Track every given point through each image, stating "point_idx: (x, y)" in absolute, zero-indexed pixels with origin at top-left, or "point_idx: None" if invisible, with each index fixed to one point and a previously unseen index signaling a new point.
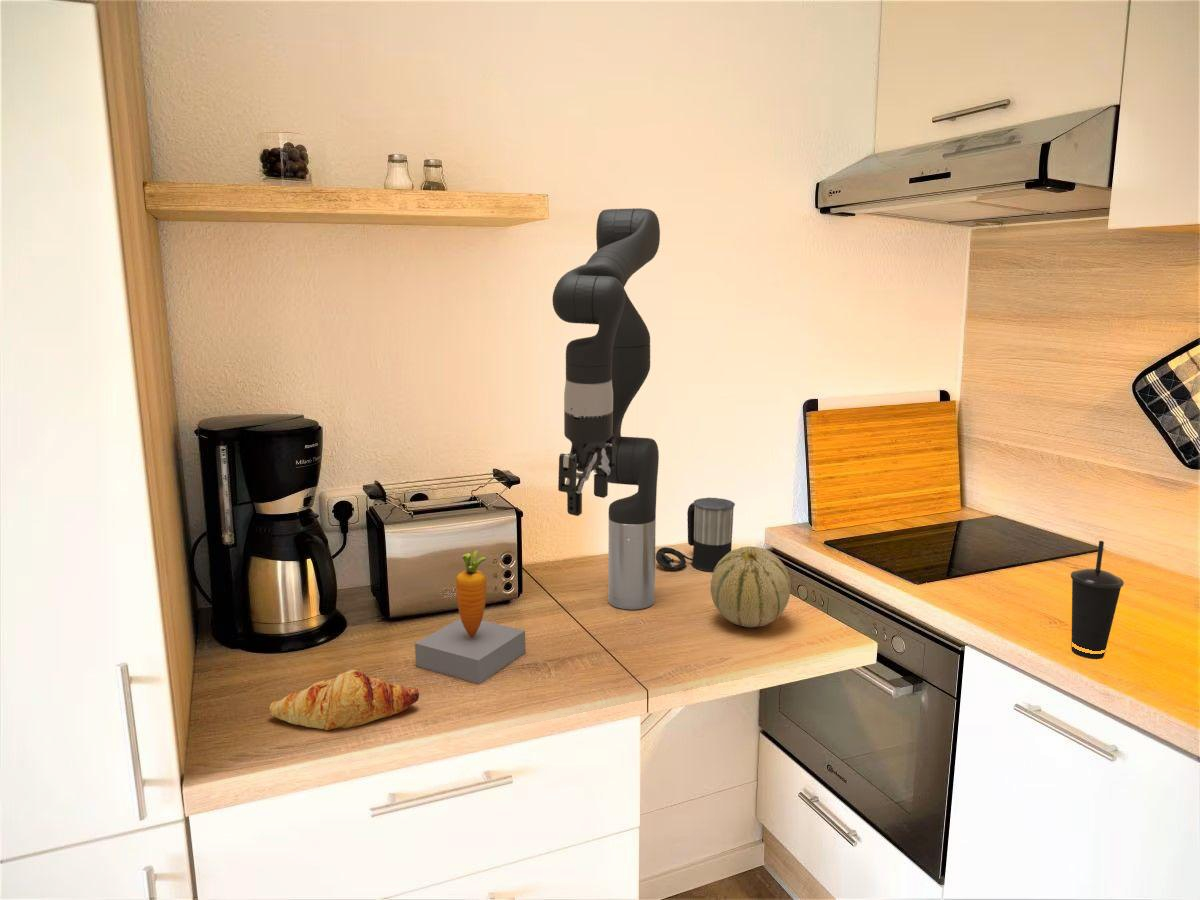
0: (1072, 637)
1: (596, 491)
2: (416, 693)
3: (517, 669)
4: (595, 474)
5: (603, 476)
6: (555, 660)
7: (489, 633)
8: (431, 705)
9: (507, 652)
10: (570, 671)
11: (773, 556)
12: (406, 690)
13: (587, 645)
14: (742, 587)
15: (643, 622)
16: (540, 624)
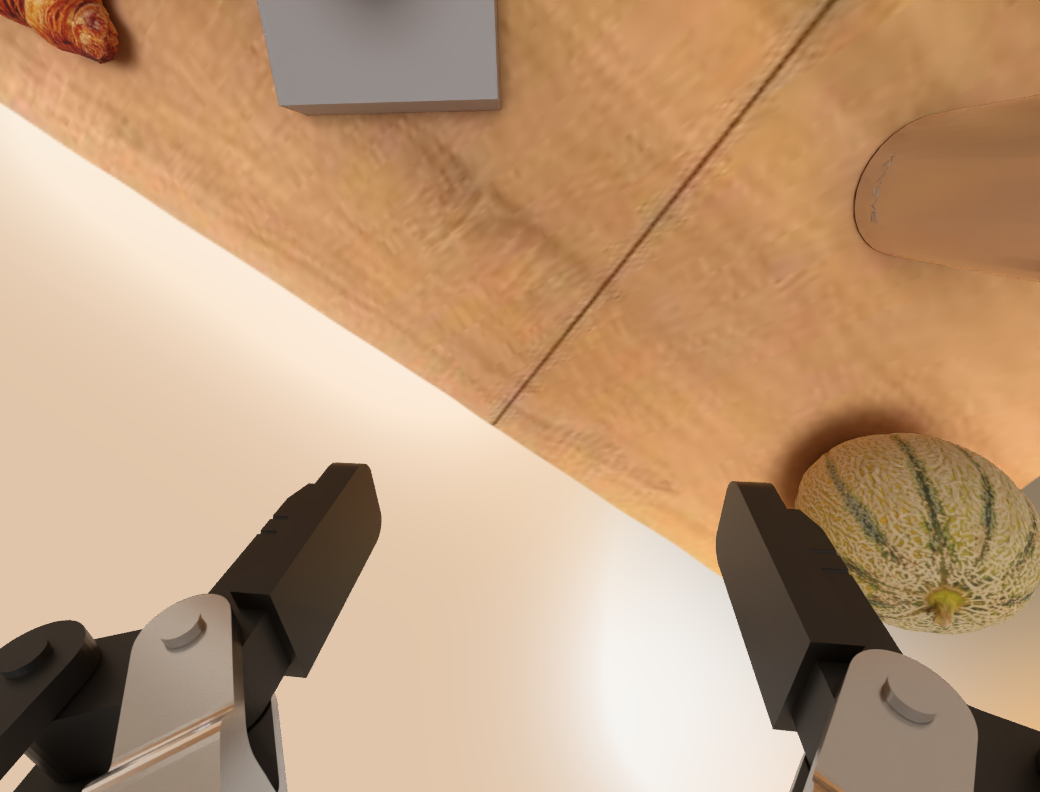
0: None
1: (740, 518)
2: (91, 56)
3: (417, 152)
4: (825, 649)
5: (787, 711)
6: (503, 207)
7: (422, 2)
8: (168, 80)
9: (414, 107)
10: (476, 268)
11: (965, 632)
12: (64, 26)
13: (608, 231)
14: None
15: (785, 285)
16: (678, 25)
